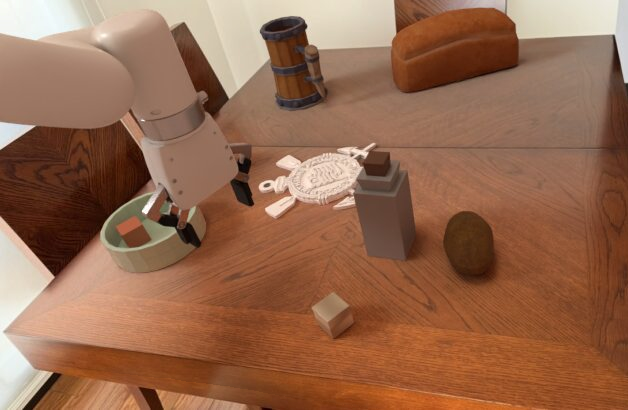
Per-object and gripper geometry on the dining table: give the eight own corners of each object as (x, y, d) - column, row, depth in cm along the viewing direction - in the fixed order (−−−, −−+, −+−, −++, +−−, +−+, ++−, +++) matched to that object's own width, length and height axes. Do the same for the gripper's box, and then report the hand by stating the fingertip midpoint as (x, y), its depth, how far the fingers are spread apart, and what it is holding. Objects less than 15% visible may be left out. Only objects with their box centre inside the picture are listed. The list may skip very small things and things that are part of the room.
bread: (389, 75, 138) (381, 19, 128) (500, 48, 141) (501, -9, 132) (402, 96, 127) (394, 36, 118) (523, 66, 131) (525, 5, 121)
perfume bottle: (367, 255, 85) (347, 169, 74) (379, 229, 90) (362, 144, 78) (405, 260, 83) (391, 172, 71) (416, 233, 87) (404, 146, 76)
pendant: (394, 203, 95) (393, 197, 94) (250, 222, 97) (248, 216, 96) (390, 143, 111) (389, 137, 110) (267, 160, 113) (265, 155, 112)
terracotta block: (131, 251, 94) (121, 235, 92) (124, 241, 97) (114, 226, 94) (151, 239, 96) (142, 224, 94) (144, 230, 99) (135, 215, 96)
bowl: (133, 288, 87) (118, 266, 84) (102, 243, 99) (88, 222, 95) (222, 234, 95) (212, 212, 92) (184, 198, 106) (174, 177, 103)
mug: (350, 97, 131) (334, 21, 119) (306, 121, 125) (284, 43, 112) (308, 80, 144) (289, 10, 131) (265, 101, 137) (242, 29, 125)
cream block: (333, 339, 73) (327, 322, 70) (317, 324, 75) (311, 307, 73) (354, 322, 74) (349, 305, 72) (338, 308, 77) (333, 291, 74)
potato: (454, 290, 76) (451, 254, 71) (436, 237, 86) (432, 202, 81) (506, 279, 76) (506, 243, 71) (482, 227, 86) (481, 192, 81)
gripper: (210, 82, 68) (249, 182, 79) (92, 147, 58) (155, 251, 69) (245, 91, 64) (281, 196, 75) (125, 162, 54) (187, 271, 65)
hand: (221, 222), depth 72 cm, fingers open, 9 cm apart
